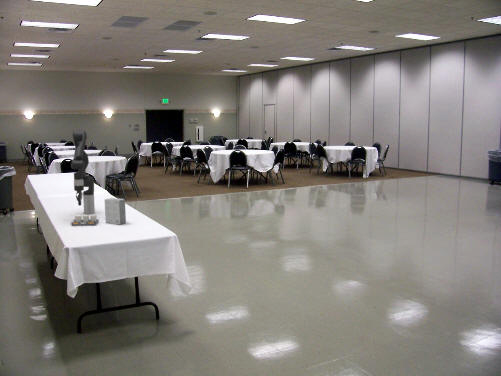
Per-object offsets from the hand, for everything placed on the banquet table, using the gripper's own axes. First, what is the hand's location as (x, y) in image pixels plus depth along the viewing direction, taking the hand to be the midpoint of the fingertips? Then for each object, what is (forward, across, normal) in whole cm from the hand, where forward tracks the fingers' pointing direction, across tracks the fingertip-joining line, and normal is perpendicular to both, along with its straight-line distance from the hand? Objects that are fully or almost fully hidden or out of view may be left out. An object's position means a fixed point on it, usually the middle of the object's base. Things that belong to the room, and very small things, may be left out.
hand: (79, 205), depth 405 cm
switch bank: (+14, +10, +6) cm, 18 cm away
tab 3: (+12, +7, +12) cm, 19 cm away
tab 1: (+12, +7, 0) cm, 14 cm away
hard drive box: (+14, +8, +30) cm, 34 cm away
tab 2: (+12, +7, +6) cm, 15 cm away
